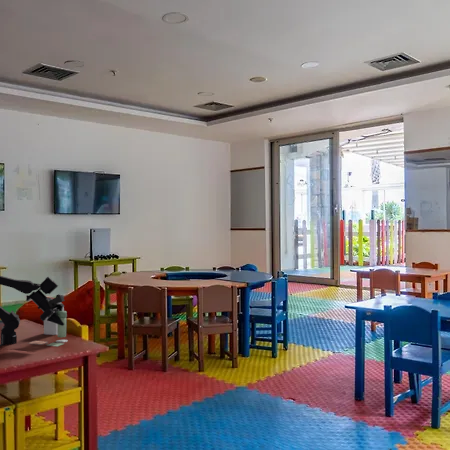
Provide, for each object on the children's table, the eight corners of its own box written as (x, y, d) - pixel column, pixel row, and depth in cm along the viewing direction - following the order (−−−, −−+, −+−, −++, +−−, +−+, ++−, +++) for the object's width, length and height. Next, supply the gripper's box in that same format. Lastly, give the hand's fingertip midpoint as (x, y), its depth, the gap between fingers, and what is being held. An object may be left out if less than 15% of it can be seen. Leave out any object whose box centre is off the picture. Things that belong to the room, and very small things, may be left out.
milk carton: (43, 336, 250) (43, 299, 250) (51, 333, 257) (51, 297, 257) (56, 337, 248) (56, 299, 248) (63, 334, 255) (64, 297, 255)
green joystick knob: (55, 337, 234) (55, 312, 234) (61, 335, 238) (61, 310, 238) (62, 337, 233) (62, 312, 233) (68, 335, 237) (68, 311, 237)
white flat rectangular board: (25, 346, 230) (25, 343, 230) (45, 339, 243) (45, 337, 243) (56, 349, 224) (56, 347, 224) (75, 342, 237) (75, 340, 237)
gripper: (47, 292, 226) (70, 315, 226) (60, 286, 245) (82, 309, 245) (29, 309, 226) (53, 332, 226) (44, 302, 245) (66, 324, 245)
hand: (64, 324), depth 236 cm, fingers closed on green joystick knob, 4 cm apart
